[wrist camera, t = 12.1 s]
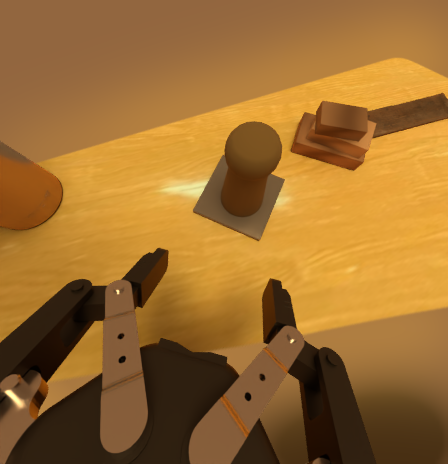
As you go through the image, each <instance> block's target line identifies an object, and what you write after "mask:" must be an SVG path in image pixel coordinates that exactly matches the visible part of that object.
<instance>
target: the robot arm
mask: <svg viewBox="0 0 448 464" xmlns="http://www.w3.org/2000/svg"><path fill="white" fill-rule="evenodd" d="M61 197H62V187H61V184H60V182H59V180H58V179H57V178H56V177H55V176H54V175H53V174H51V173H50V172H48V171H46V170H45V169H43V168H42V167H40V166H39V165H37V164H35V163H34V162H32V161H31V160H29V159H27V158H26V157H25V156H23V155H21V154H20V153H18V152H17V151H15V150H14V149H12V148H11V147H9V146H7V145H6V144H4V143H3V142H1V141H0V226H1V227H5V228H9V229H14V230H23V229H29V228H32V227H35V226H37V225H39V224H41V223H43V222H44V221H46V220H47V219H48V218H49V217H50V216H51V215H52V214H53V213H54V212H55V211H56V209H57V207H58V206H59V204H60V201H61ZM167 266H168V250H165V249H161V248H157V249H156V251H155V252H154V253H150V252H149V253H148V254H146V255H144V256H143V257H142V258H141V259H140V260H139V261H138V262H137V263H136V265H134V266H133V268H132V269H131V270H130V271H129V272H128V273H127V274H126V275H125V276H124V277H123V278H122V279H121V280H117V281H114V282H112V283H110V284H109V285H108V286H92V283H91V282H90V281H89V280H86V279H79V280H75V281H72V282H70V283H68V284H67V285H66V286H65V287H63V288H62V289H61V290H60V291H59V292H58V293H57V294H55V295H54V296H53V297H52V298H51V299H50V300H49V301H47V302H46V303H45V304H44V305H43V306H42V307H41V308H39V309H38V310H37V311H36V312H35V313H34V314H33V315H31V316H30V317H29V318H28V319H27V320H26V321H25V322H23V323H22V324H21V325H20V326H19V327H18V328H17V329H15V330H14V331H13V332H12V333H11V334H10V335H9V336H7V337H6V338H5V339H4V340H3V341H2V342H1V343H0V464H280V463H279V460H278V458H277V456H276V454H275V452H274V449H273V447H272V445H271V443H270V440H269V438H268V436H267V434H266V432H265V429H264V427H263V426H262V423H261V421H260V418H259V417H260V415H261V414H262V412H263V411H264V409H265V408H266V406H267V404H268V403H269V401H270V400H271V398H272V397H273V395H274V393H275V392H276V390H277V389H278V387H279V385H280V384H281V382H282V381H283V379H284V378H285V376H286V375H287V373H289V374H290V375H292V376H294V377H295V378H296V379H298V380H299V384H300V392H301V400H302V409H303V418H304V425H305V435H306V443H307V451H308V459H309V462H308V463H306V464H376V461H375V458H374V455H373V452H372V449H371V446H370V442H369V440H368V436H367V433H366V430H365V427H364V424H363V421H362V418H361V415H360V412H359V409H358V405H357V402H356V399H355V396H354V393H353V390H352V387H351V384H350V381H349V378H348V375H347V372H346V368H345V365H344V363H343V361H342V359H341V358H340V356H339V355H338V354H336V352H334V351H333V350H332V349H329V348H326V347H323V348H321V349H320V350H319V349H317V348H315V347H314V346H312V345H310V344H308V343H307V342H306V341H305V340H304V338H303V336H302V334H301V333H300V332H299V331H298V330H297V327H296V322H295V317H294V312H293V309H292V308H293V307H292V304H291V297H290V295H289V293H288V292H287V290H285V289H282V284H281V281H279V280H275V279H271V278H270V280H269V282H268V284H267V286H266V288H265V290H264V293H263V297H262V308H263V341H264V343H266V344H268V346H267V347H266V348H264V349H263V350H262V351H261V352H260V353H259V355H258V356H257V357H256V358H255V359H254V360H253V362H252V363H251V364H250V365H249V366H248V367H247V369H246V370H245V371H244V372H243V373H242V374H241V375H240V376H239V375H238V373H237V372H236V370H235V369H234V368H233V367H232V366H230V365H229V364H227V357H225V356H222V355H218V354H214V353H211V352H191V351H189V350H188V349H186V348H185V347H183V346H182V345H180V344H178V343H177V342H173V341H170V340H166V339H163V338H161V339H160V341H159V343H154V344H149V345H146V346H143V347H141V348H140V347H139V339H138V331H137V324H136V316H135V309H136V307H141V308H143V306H144V305H145V303H146V301H147V300H148V298H149V297H150V295H151V294H152V292H153V291H154V289H155V288H156V286H157V285H158V283H159V282H160V280H161V278H162V277H163V275H164V274H165V272H166V270H167ZM103 320H104V322H103V373H101V374H100V375H98V376H97V377H95V378H94V379H92V380H91V381H89V382H88V383H86V384H85V385H83V386H82V387H80V388H79V389H77V390H76V391H74V392H73V393H71V394H70V395H68V396H67V397H65V398H64V399H62V400H61V401H59V402H58V403H56V404H55V405H53V406H52V407H50V408H49V409H47V410H46V411H45V412H43V413H42V414H41V415H40V416H39V417H38V412H39V409H40V407H41V405H42V404H43V402H44V400H45V399H46V397H47V394H48V385H47V382H48V380H49V379H50V378H51V376H52V375H53V374H54V373H55V371H56V370H57V369H58V367H59V366H60V365H61V364H62V362H63V361H64V360H65V358H66V357H67V356H68V355H69V353H70V352H71V351H72V349H73V348H74V347H75V346H76V344H77V343H78V342H79V341H80V339H81V338H82V337H83V335H84V334H85V333H86V332H87V330H88V329H89V328H90V326H91V325H92V324H93V323H94V321H103Z"/></svg>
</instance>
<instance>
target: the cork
mask: <svg viewBox="0 0 448 464" xmlns="http://www.w3.org/2000/svg"><path fill="white" fill-rule="evenodd" d="M281 153H282V144H281V141H280V138H279V135H278V134H277V133H276V131H275V130H274V129H273V128H271V127H270V126H269V125H267V124H264V123H262V122H246V123H244V124H241V125H239V126H238V127H237V128H236V129H234V130H233V131H232V132H231V134H230V135H229V137H228V139H227V141H226V145H225V159H226V163H227V166H228V170H227V173H226V177H225V180H224V184H223V188H222V191H221V197H220V198H221V203H222V205H223V207H224V209H225V210H226V211H227V212H229V213H230V214H232V215H234V216H237V217H248V216H251V215H253V214H255V213H256V212H257V211H258V210H259V209H260V207H261V205H262V202H263V198H264V193H265V188H266V183H267V178H268V176H269V175H270V174H271V173H272V172H273V171H274V170H275V169H276V167H277V165H278V163H279V161H280V159H281Z"/></svg>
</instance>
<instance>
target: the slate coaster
mask: <svg viewBox="0 0 448 464" xmlns="http://www.w3.org/2000/svg"><path fill="white" fill-rule="evenodd" d="M227 170H228V166H227V163H226V159H225V156H224V155H223V156H222V157H221V159H220V161H219V163H218V165H217V167H216V169H215V170H214V172H213V174H212V176H211V178H210V180H209V182H208V183H207V185H206V187H205V189H204V191H203V193H202V195H201V196H200V198H199V200H198V202H197V204H196V206H195V208H194V209H193V212H194V213H197V214H199V215H201V216H203V217H206V218H208V219H210V220H213V221H215V222H217V223H219V224H222V225H224V226H226V227H228V228H231V229H233V230H235V231H238V232H240V233H242V234H244V235H247V236H249V237H251V238H254V239H256V240H258V241H259V240H260V239H261V236H262V234H263V231H264V229H265V227H266V224H267V222H268V219H269V217H270V214H271V212H272V209H273V207H274V205H275V202H276V200H277V197H278V195H279V192H280V190H281V188H282V185H283V183H284V180H285V179H282V178H280V177H277V176H275V175H272V174H270V175H269V176H268V178H267V183H266V188H265V193H264V198H263V202H262V205H261V207H260V209H259V210H258V211H257V212H256V213H255V214H253V215H251V216H248V217H237V216H234V215H232V214H230V213H229V212H227V211H226V210H225V209H224V207H223V205H222V203H221V198H220V197H221V191H222V188H223V184H224V180H225V177H226V173H227Z"/></svg>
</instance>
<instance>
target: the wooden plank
mask: <svg viewBox="0 0 448 464" xmlns="http://www.w3.org/2000/svg"><path fill="white" fill-rule="evenodd" d="M447 118H448V99H447V98H446V96H445V95H444V94H443V93H441V94H438V95H434V96H430V97H426V98H422V99H418V100H415V101H410V102H407V103H403V104H399V105H394V106H388V107H384V108H380V109H376V110H372V111H368V112H367V119H368V120H369V121H371V122H374V123H377V124H376V127H375V130H374V134H373V137H372V138H376V137H379V136H383V135H387V134H390V133H394V132H398V131H402V130H406V129H409V128H413V127H417V126H421V125H424V124H428V123H432V122H435V121H439V120H443V119H447Z"/></svg>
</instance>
